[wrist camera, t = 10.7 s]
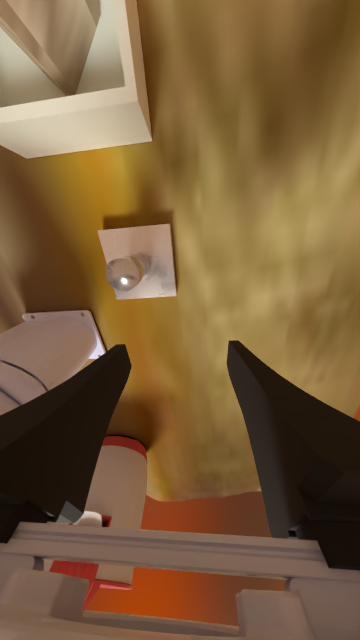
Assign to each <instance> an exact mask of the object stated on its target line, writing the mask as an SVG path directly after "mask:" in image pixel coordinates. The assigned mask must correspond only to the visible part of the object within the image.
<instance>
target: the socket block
mask: <svg viewBox="0 0 360 640" xmlns="http://www.w3.org/2000/svg"><path fill="white" fill-rule="evenodd" d="M100 16H101V13H100V11H99V8H98V5H97V3H96V0H0V27H1V28H2V29H3V31H4V32H5V33H6V34H7V35H8V36H9V37H10V38H11V39H12V40H13V41H14V42H15V43H16V44H17V45H18V46H19V47H20V48H21V50H22V51H23V52H24V53H25V54H26V55H27V56H28V57H29V58H30V59H31V60H32V61H33V62H34V63H35V64H36V65H37V66H38V67H39V68H40V69H41V70H42V71H43V72H44V73H45V74H46V75H47V76H48V77H49V79H50V80H51V81H52V82H53V83H54V84H55V85H56V86H57V87H58V88H59V89H60V90H61V91H62V92H63V93H64V94H65V95H66V96H72V95H76V92H77V89H78V86H79V82H80V79H81V76H82V73H83V70H84V66H85V63H86V60H87V57H88V54H89V51H90V47H91V44H92V41H93V38H94V35H95V31H96V28H97V25H98V22H99V19H100Z"/></svg>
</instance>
